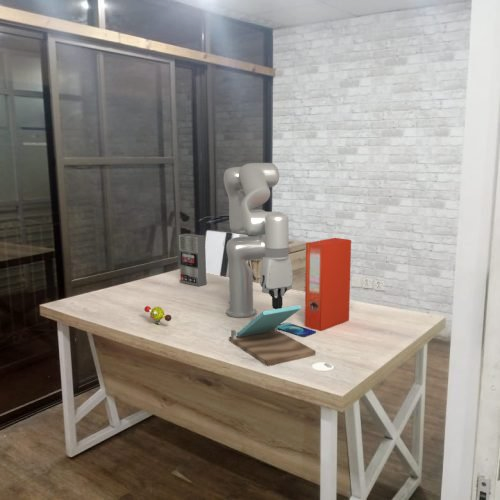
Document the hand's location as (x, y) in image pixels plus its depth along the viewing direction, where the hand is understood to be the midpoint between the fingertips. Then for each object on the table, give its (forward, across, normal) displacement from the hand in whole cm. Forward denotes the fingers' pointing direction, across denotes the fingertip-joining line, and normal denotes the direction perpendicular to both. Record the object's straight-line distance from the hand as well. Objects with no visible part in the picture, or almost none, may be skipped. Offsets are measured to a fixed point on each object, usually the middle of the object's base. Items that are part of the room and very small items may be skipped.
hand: (277, 308), depth 169 cm
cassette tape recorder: (+13, -13, -104) cm, 105 cm away
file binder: (+15, -32, -16) cm, 39 cm away
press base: (+15, 0, -5) cm, 15 cm away
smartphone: (+15, -17, -16) cm, 28 cm away
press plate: (+7, 0, -6) cm, 9 cm away
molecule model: (+14, +24, -49) cm, 57 cm away
